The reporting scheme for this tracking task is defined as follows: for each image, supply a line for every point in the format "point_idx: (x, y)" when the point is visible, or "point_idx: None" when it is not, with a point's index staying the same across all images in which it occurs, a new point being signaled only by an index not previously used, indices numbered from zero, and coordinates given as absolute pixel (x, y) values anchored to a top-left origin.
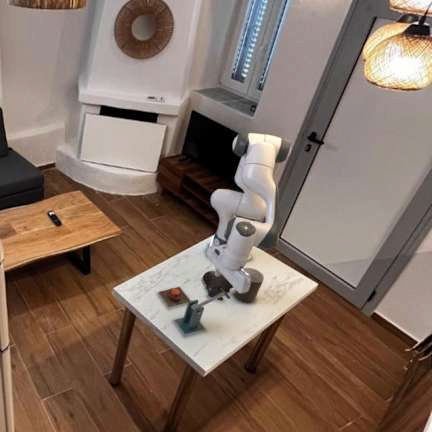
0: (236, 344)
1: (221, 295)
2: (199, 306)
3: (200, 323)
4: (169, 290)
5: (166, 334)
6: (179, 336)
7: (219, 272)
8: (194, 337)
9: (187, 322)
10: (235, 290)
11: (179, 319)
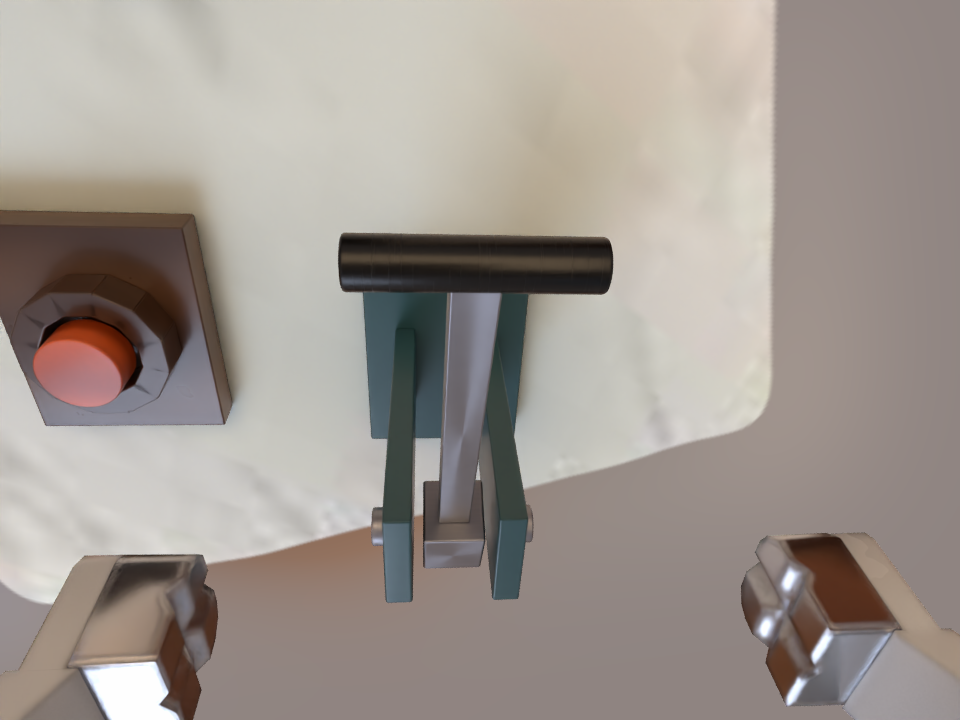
0: (772, 88)
1: (494, 341)
2: (469, 518)
3: None
4: None
5: None
6: None
7: (86, 690)
8: (549, 370)
9: (422, 370)
10: (918, 623)
11: (376, 408)
